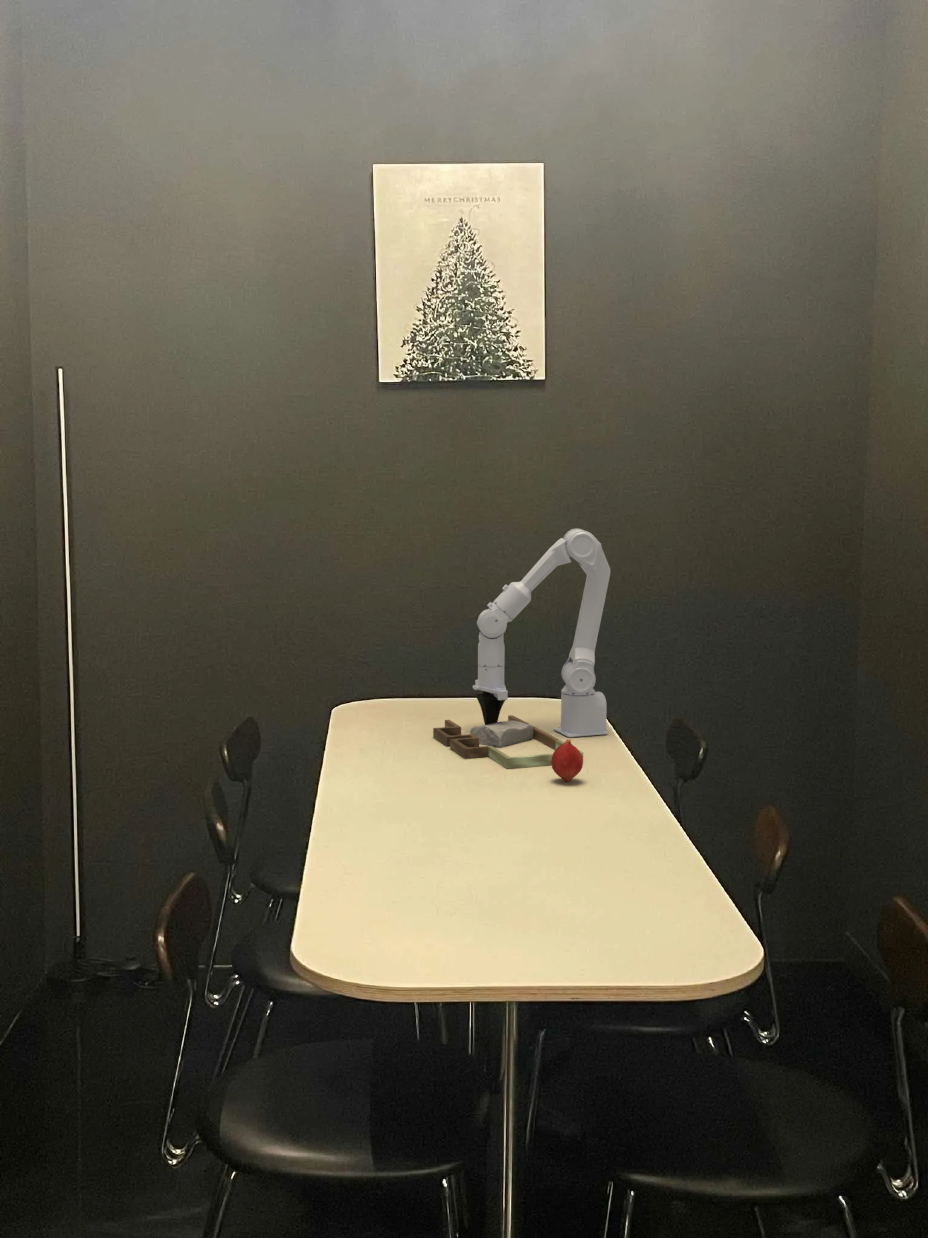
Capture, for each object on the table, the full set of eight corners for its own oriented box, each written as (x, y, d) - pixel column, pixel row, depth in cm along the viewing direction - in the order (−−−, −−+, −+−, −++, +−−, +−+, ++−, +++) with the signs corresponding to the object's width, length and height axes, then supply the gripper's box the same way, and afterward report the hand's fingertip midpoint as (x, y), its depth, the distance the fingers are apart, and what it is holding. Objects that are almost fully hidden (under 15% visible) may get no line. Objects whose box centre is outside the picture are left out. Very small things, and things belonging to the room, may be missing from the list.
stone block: (466, 750, 253) (502, 748, 247) (463, 727, 253) (499, 724, 247) (501, 742, 262) (537, 740, 256) (499, 720, 262) (535, 718, 256)
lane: (512, 724, 270) (512, 715, 270) (583, 762, 236) (583, 752, 236) (423, 730, 263) (423, 721, 263) (482, 771, 229) (482, 760, 229)
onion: (545, 783, 220) (546, 740, 219) (558, 776, 226) (559, 734, 224) (575, 787, 218) (576, 743, 217) (587, 779, 223) (588, 737, 222)
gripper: (462, 660, 264) (462, 721, 266) (485, 671, 251) (485, 735, 253) (492, 659, 267) (492, 719, 268) (517, 669, 253) (516, 733, 255)
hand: (490, 727), depth 261 cm, fingers closed
